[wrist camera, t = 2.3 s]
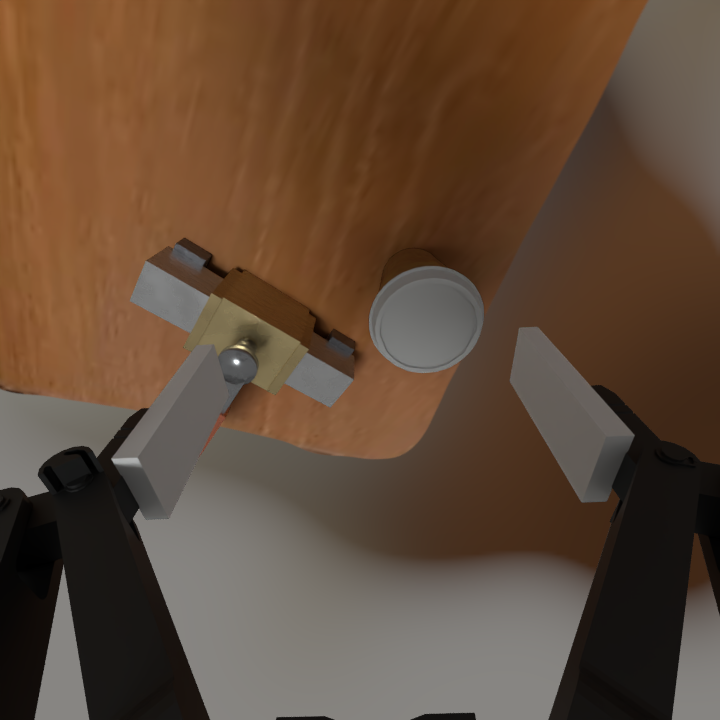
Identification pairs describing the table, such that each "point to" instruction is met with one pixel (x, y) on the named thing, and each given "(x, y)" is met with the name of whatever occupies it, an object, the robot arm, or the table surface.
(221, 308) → the bar with tan sleeve
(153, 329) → the table surface
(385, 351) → the disposable coffee cup
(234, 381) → the lever
